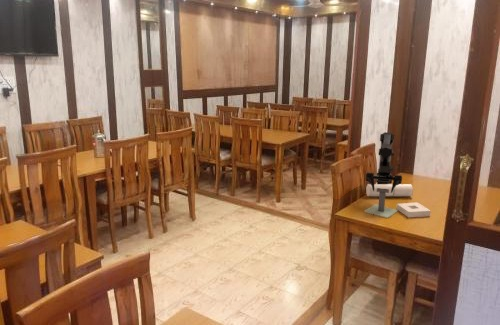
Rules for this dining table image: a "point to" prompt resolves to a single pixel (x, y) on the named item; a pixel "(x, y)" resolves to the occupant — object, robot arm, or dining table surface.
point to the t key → (382, 198)
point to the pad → (385, 214)
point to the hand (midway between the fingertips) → (382, 191)
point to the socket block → (413, 209)
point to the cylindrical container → (398, 190)
